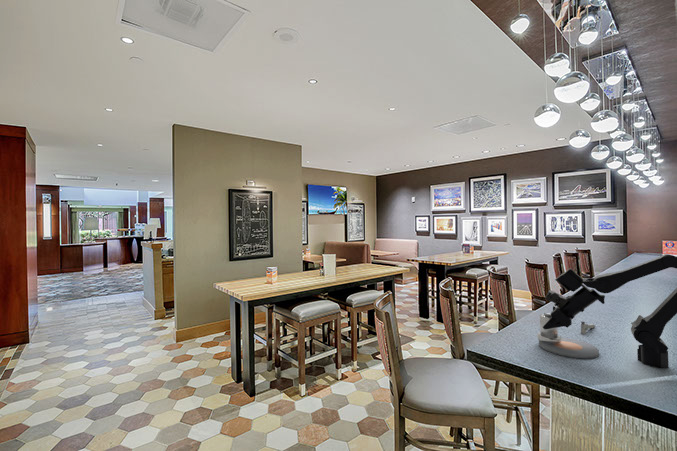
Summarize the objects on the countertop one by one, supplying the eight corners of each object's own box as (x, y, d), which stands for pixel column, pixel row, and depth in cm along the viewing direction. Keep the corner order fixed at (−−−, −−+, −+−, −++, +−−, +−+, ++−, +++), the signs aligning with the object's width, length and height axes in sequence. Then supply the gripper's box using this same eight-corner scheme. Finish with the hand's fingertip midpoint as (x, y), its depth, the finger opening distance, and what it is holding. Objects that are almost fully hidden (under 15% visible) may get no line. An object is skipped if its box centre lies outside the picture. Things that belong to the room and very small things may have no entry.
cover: (566, 342, 116) (565, 315, 116) (549, 344, 115) (548, 317, 115) (549, 335, 124) (548, 310, 124) (532, 337, 122) (531, 311, 123)
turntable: (612, 355, 109) (612, 352, 109) (568, 360, 106) (568, 357, 106) (566, 338, 127) (566, 335, 127) (527, 342, 123) (527, 339, 123)
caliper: (584, 337, 131) (583, 322, 131) (580, 336, 132) (580, 322, 132) (595, 327, 144) (594, 313, 144) (592, 326, 145) (591, 313, 145)
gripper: (560, 280, 125) (529, 304, 131) (558, 288, 110) (523, 314, 116) (586, 302, 120) (553, 326, 126) (587, 313, 105) (549, 340, 112)
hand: (544, 326), depth 120 cm, fingers closed on cover, 6 cm apart
